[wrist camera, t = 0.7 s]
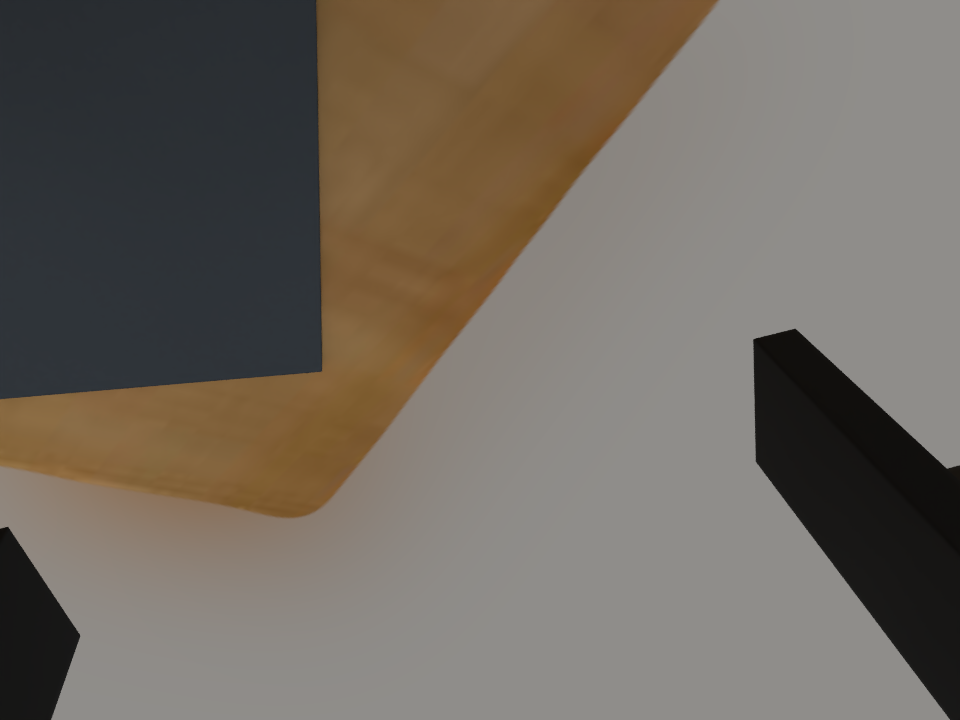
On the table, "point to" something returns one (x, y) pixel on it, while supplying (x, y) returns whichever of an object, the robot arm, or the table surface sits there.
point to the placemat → (157, 193)
